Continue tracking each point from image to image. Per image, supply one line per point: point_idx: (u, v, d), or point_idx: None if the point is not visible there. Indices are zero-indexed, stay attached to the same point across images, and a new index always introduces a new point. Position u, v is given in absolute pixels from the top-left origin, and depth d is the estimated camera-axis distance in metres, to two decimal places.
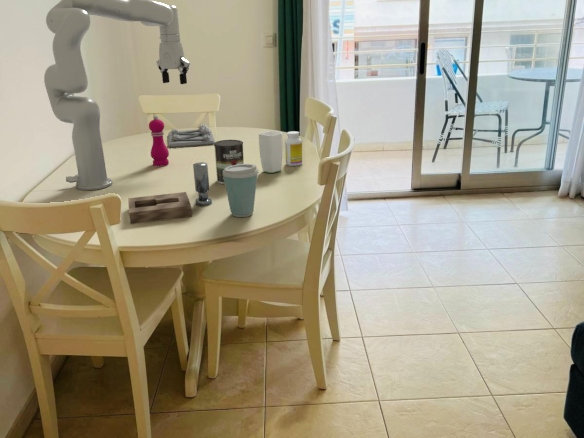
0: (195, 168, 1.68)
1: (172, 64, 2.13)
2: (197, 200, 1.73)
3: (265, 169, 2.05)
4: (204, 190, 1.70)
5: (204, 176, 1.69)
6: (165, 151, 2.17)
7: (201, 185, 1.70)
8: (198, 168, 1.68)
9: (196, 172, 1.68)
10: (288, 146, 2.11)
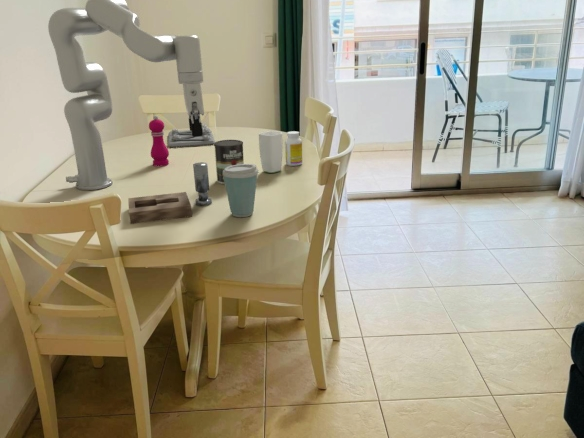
0: (195, 168, 1.68)
1: None
2: (197, 200, 1.73)
3: (265, 169, 2.05)
4: (204, 190, 1.70)
5: (204, 176, 1.69)
6: (165, 151, 2.17)
7: (201, 185, 1.70)
8: (198, 168, 1.68)
9: (196, 172, 1.68)
10: (288, 146, 2.11)
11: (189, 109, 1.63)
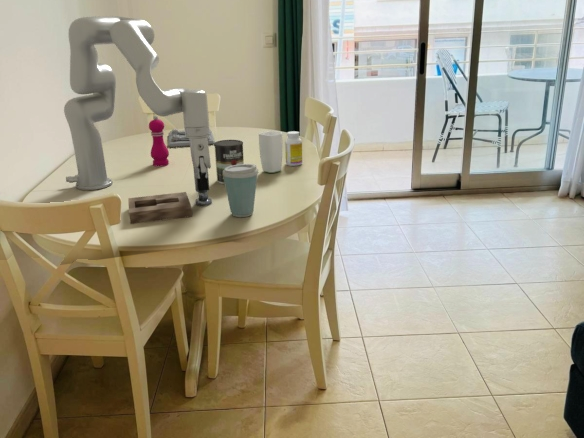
0: None
1: None
2: (197, 200, 1.73)
3: (265, 169, 2.05)
4: (204, 190, 1.70)
5: None
6: (165, 151, 2.17)
7: None
8: (198, 168, 1.68)
9: (196, 172, 1.68)
10: (288, 146, 2.11)
11: (196, 163, 1.64)
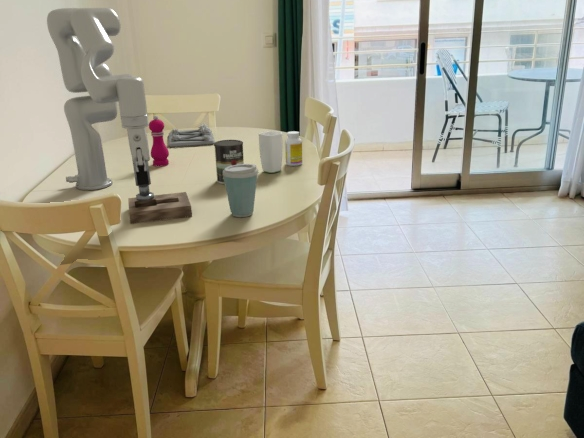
0: None
1: None
2: (138, 195, 1.63)
3: (265, 169, 2.05)
4: None
5: None
6: (165, 151, 2.17)
7: None
8: (137, 160, 1.58)
9: (135, 165, 1.58)
10: (288, 146, 2.11)
11: (133, 155, 1.54)
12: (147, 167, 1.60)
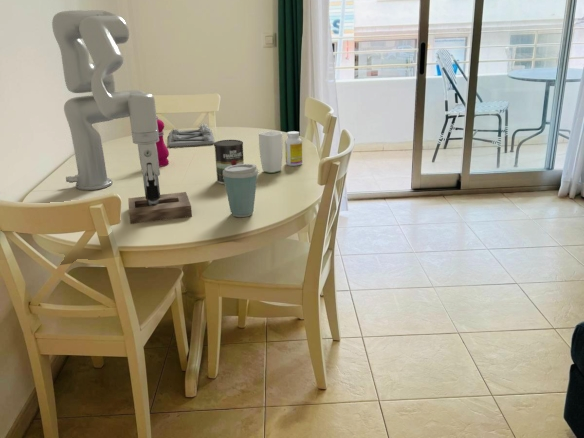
0: None
1: None
2: None
3: (265, 169, 2.05)
4: None
5: None
6: (165, 151, 2.17)
7: None
8: (147, 175, 1.60)
9: (145, 179, 1.61)
10: (288, 146, 2.11)
11: (144, 170, 1.56)
12: (157, 181, 1.62)
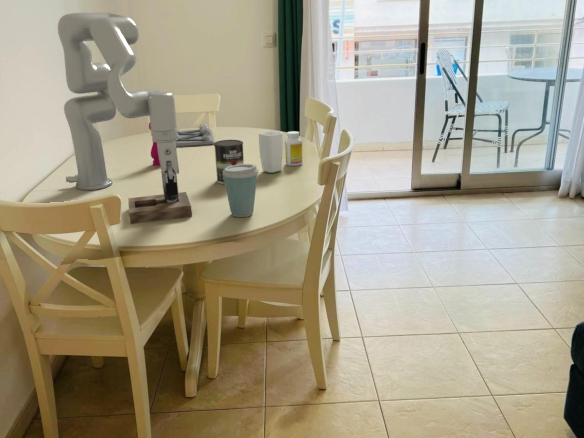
0: (163, 175, 1.62)
1: None
2: None
3: (265, 169, 2.05)
4: (173, 197, 1.64)
5: None
6: None
7: None
8: None
9: (164, 179, 1.62)
10: (288, 146, 2.11)
11: (163, 168, 1.58)
12: (176, 181, 1.64)
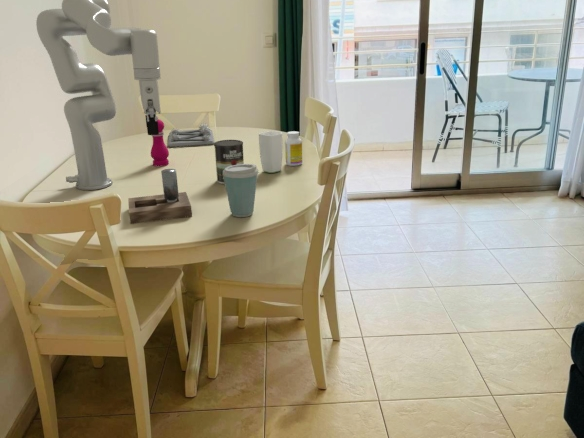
0: (163, 175, 1.62)
1: None
2: None
3: (265, 169, 2.05)
4: (173, 197, 1.64)
5: (173, 182, 1.63)
6: (165, 151, 2.17)
7: (170, 192, 1.64)
8: (166, 175, 1.62)
9: (164, 179, 1.62)
10: (288, 146, 2.11)
11: (144, 107, 1.57)
12: (176, 181, 1.64)
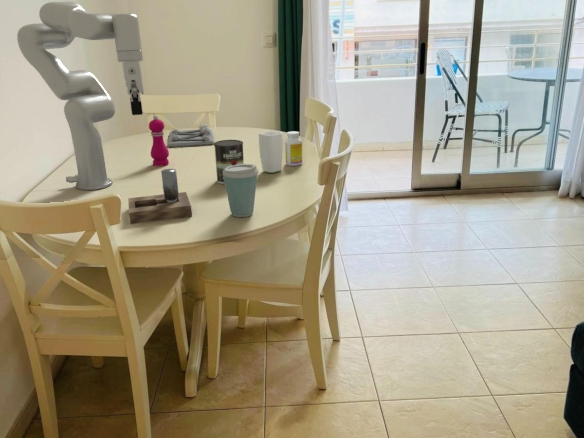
0: (163, 175, 1.62)
1: None
2: None
3: (265, 169, 2.05)
4: (173, 197, 1.64)
5: (173, 182, 1.63)
6: (165, 151, 2.17)
7: (170, 192, 1.64)
8: (166, 175, 1.62)
9: (164, 179, 1.62)
10: (288, 146, 2.11)
11: (128, 87, 1.64)
12: (176, 181, 1.64)
